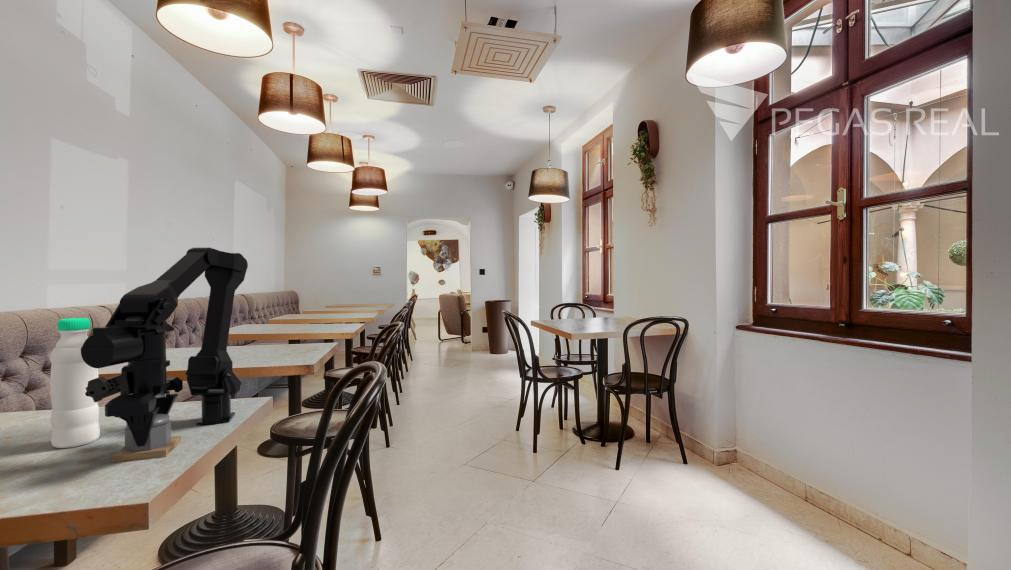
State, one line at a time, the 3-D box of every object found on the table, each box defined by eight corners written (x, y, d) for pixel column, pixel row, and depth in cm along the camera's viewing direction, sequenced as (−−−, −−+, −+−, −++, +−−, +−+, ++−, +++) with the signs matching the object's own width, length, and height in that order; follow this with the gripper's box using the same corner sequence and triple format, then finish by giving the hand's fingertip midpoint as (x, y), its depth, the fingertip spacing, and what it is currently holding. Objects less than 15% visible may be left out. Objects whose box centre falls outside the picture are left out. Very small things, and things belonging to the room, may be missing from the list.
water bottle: (70, 450, 87) (67, 320, 87) (41, 447, 88) (39, 319, 88) (108, 437, 94) (106, 317, 94) (81, 435, 95) (79, 316, 95)
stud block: (132, 446, 89) (132, 423, 89) (180, 441, 91) (180, 418, 91) (112, 462, 81) (112, 436, 81) (166, 456, 84) (165, 431, 84)
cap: (176, 442, 88) (176, 416, 88) (138, 453, 82) (138, 426, 82) (157, 437, 90) (157, 412, 90) (119, 448, 85) (119, 421, 85)
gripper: (118, 352, 92) (119, 429, 92) (64, 370, 75) (66, 464, 75) (183, 349, 96) (184, 423, 96) (146, 365, 78) (148, 455, 78)
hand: (148, 439), depth 86 cm, fingers closed on cap, 6 cm apart
